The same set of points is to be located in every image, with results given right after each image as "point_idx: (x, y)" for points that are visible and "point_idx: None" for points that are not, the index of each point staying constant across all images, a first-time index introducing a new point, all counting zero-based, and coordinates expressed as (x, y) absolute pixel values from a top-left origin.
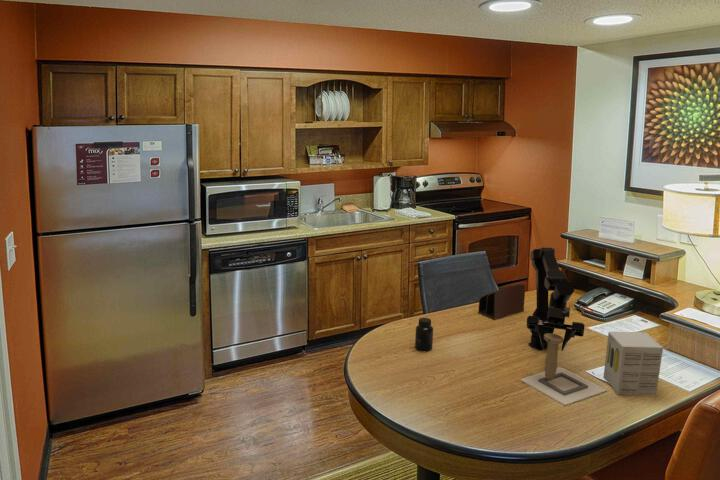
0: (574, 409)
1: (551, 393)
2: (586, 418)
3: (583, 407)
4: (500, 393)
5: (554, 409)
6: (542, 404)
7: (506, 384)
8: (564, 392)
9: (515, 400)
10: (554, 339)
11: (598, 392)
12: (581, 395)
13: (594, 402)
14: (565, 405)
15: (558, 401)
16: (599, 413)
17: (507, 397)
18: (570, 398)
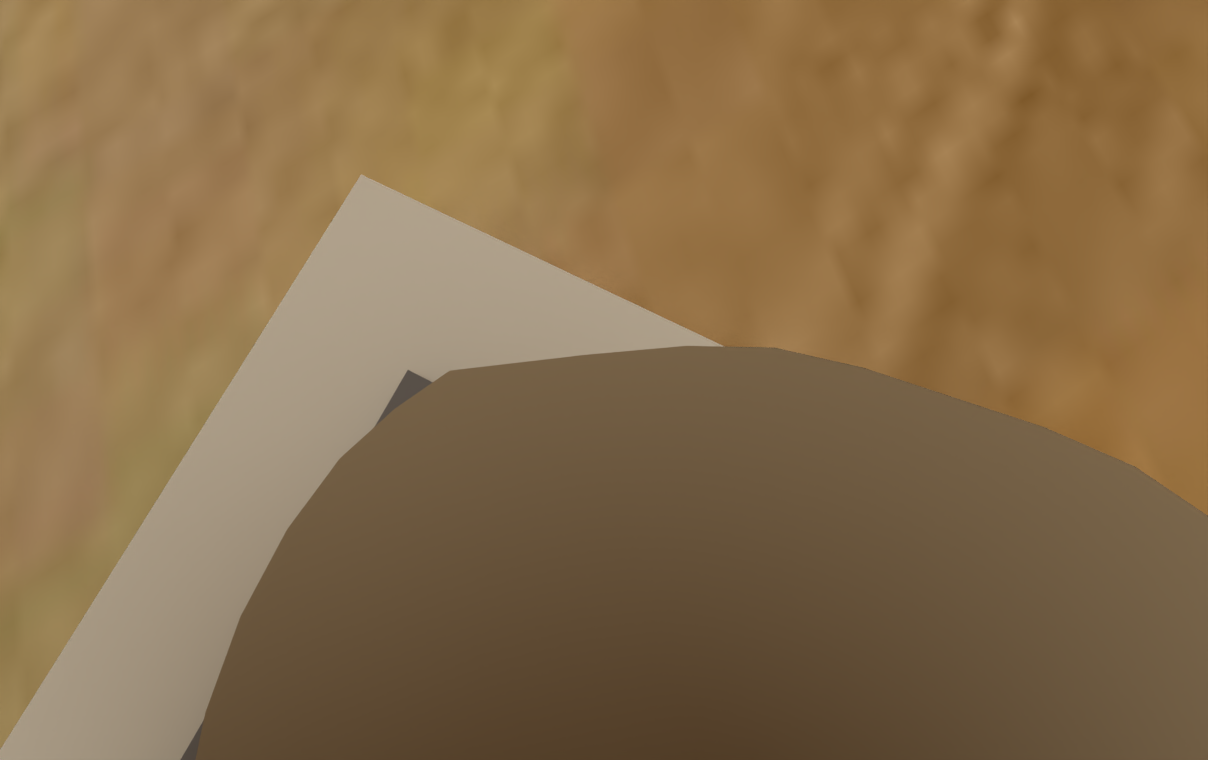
0: (262, 175)
1: (565, 343)
2: (127, 72)
3: (178, 273)
4: (1081, 52)
5: (452, 59)
6: (591, 85)
7: (1139, 296)
8: (410, 397)
9: (871, 5)
10: (641, 435)
11: (24, 738)
12: (221, 511)
13: (72, 464)
14: (360, 184)
15: (447, 217)
16: (8, 243)
17: (972, 15)
18: (332, 353)
